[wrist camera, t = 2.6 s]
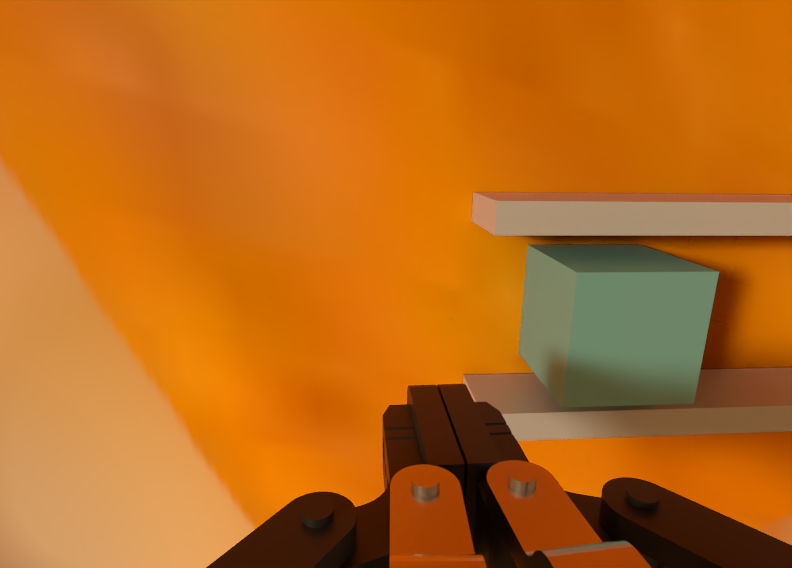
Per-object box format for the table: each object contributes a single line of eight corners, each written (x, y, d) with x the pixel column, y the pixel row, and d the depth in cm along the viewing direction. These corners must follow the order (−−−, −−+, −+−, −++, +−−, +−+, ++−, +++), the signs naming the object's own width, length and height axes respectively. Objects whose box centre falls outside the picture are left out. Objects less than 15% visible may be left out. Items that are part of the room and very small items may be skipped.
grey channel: (473, 192, 20) (496, 200, 17) (875, 194, 22) (970, 204, 18) (461, 398, 23) (480, 441, 20) (823, 388, 24) (899, 427, 21)
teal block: (526, 244, 21) (577, 272, 16) (638, 244, 22) (719, 271, 17) (517, 352, 23) (561, 407, 18) (623, 350, 23) (693, 403, 18)
